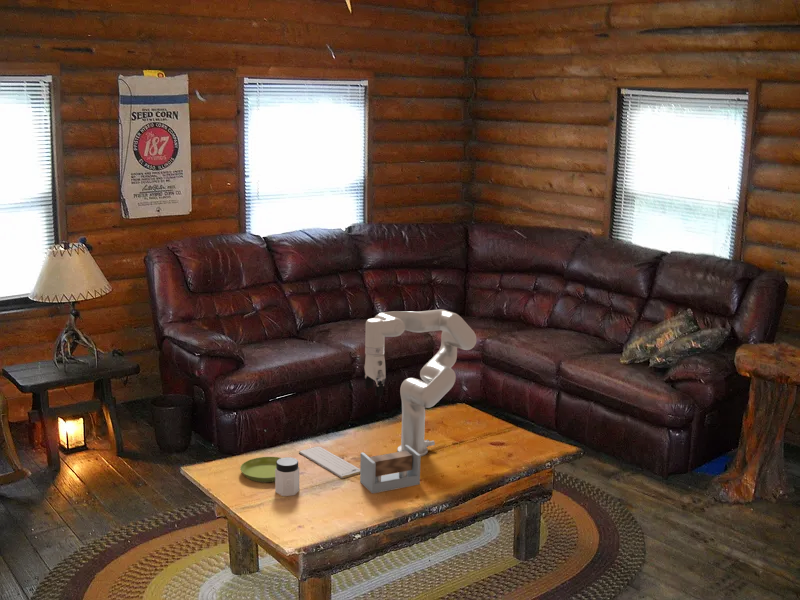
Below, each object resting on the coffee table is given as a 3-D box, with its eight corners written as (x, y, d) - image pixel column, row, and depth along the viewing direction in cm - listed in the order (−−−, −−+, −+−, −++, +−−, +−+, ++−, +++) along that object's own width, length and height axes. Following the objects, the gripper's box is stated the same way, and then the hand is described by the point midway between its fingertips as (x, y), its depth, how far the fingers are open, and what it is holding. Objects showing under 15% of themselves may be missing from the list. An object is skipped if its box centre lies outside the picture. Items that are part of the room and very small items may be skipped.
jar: (276, 497, 337) (276, 466, 334) (274, 487, 344) (274, 457, 342) (300, 495, 339) (300, 465, 336) (298, 485, 346) (298, 456, 344)
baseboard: (323, 448, 384) (299, 454, 377) (323, 441, 384) (299, 448, 376) (367, 472, 361) (342, 480, 354) (367, 465, 360) (342, 473, 353)
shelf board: (405, 465, 355) (406, 450, 354) (411, 469, 351) (412, 455, 350) (368, 471, 348) (368, 457, 347) (374, 476, 344) (374, 462, 342)
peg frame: (406, 473, 360) (407, 444, 357) (419, 484, 350) (420, 455, 347) (360, 482, 351) (360, 452, 348) (372, 493, 341) (372, 463, 339)
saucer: (304, 476, 356) (304, 468, 355) (259, 490, 342) (259, 482, 342) (274, 459, 371) (274, 452, 370) (230, 472, 357) (230, 464, 357)
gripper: (393, 354, 352) (392, 397, 356) (374, 343, 367) (373, 384, 371) (375, 357, 349) (374, 399, 353) (357, 345, 364) (356, 386, 368)
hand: (374, 391), depth 362 cm, fingers open, 9 cm apart
